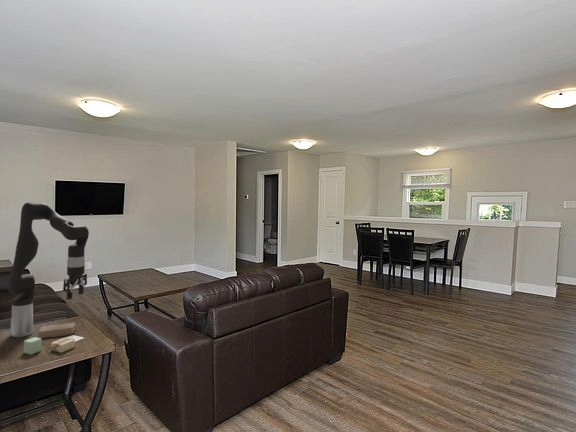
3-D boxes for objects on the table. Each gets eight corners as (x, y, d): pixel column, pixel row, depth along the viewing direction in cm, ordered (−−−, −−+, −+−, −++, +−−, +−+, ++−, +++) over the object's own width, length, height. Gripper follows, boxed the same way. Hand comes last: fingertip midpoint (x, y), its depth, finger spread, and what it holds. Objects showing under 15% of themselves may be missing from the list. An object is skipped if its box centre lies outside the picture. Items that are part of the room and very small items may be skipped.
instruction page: (56, 341, 177) (56, 340, 177) (72, 335, 186) (72, 334, 186) (69, 344, 175) (69, 343, 175) (84, 338, 183) (84, 337, 183)
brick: (37, 339, 180) (37, 330, 180) (41, 333, 188) (41, 325, 188) (73, 335, 187) (73, 326, 187) (75, 329, 195) (76, 321, 195)
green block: (23, 352, 164) (23, 340, 164) (34, 348, 169) (34, 337, 168) (31, 354, 162) (31, 342, 162) (41, 350, 167) (41, 338, 167)
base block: (51, 350, 168) (51, 342, 167) (64, 345, 174) (64, 337, 174) (61, 353, 165) (61, 345, 165) (74, 347, 172) (74, 339, 172)
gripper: (78, 262, 176) (77, 292, 177) (58, 267, 162) (57, 300, 163) (92, 262, 176) (91, 293, 176) (73, 268, 161) (72, 301, 162)
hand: (75, 296), depth 170 cm, fingers open, 8 cm apart
